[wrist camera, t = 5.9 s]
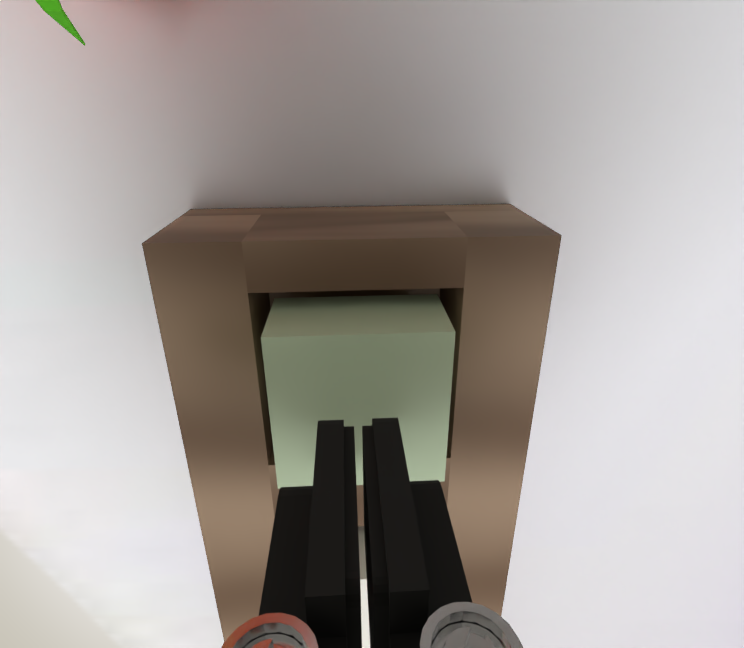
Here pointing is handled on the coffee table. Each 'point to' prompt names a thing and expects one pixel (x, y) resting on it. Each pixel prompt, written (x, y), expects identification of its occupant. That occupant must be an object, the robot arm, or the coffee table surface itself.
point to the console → (350, 278)
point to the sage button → (358, 377)
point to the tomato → (59, 16)
